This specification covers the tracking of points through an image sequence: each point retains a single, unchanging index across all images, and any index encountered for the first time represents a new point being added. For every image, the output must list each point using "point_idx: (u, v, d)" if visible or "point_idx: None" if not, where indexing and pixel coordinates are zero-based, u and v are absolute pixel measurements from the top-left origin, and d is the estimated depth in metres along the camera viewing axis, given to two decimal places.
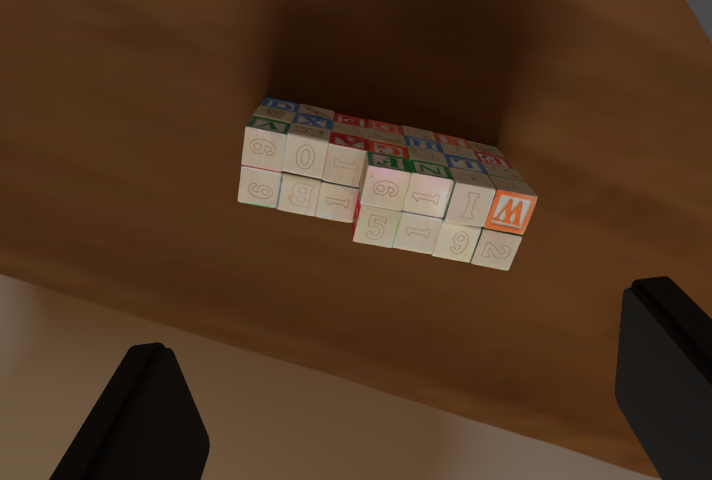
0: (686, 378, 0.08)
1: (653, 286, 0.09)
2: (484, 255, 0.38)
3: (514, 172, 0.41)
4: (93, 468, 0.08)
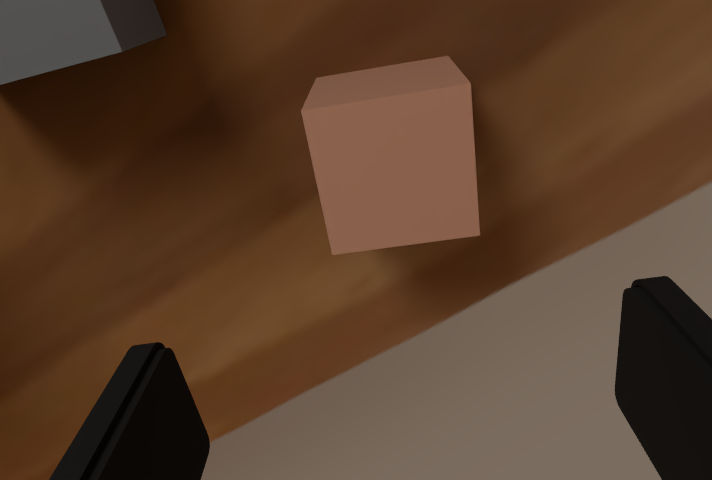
0: (686, 378, 0.08)
1: (653, 286, 0.09)
2: None
3: None
4: (93, 468, 0.08)
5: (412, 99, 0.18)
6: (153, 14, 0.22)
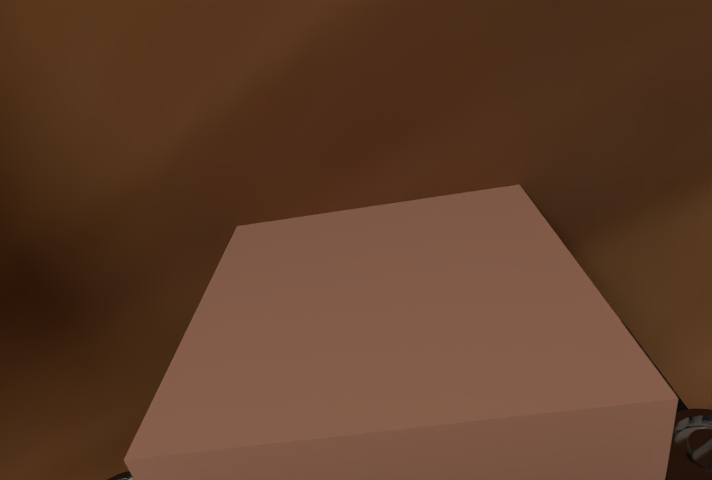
0: None
1: None
2: None
3: None
4: None
5: (477, 435, 0.06)
6: None
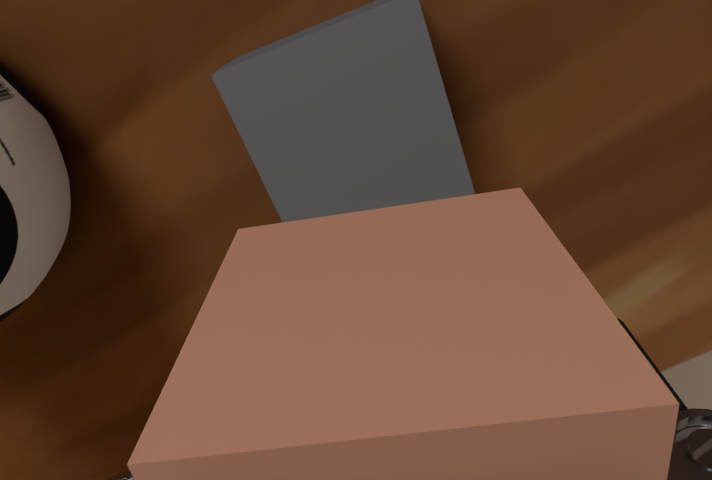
0: None
1: None
2: None
3: None
4: None
5: (479, 440, 0.06)
6: None
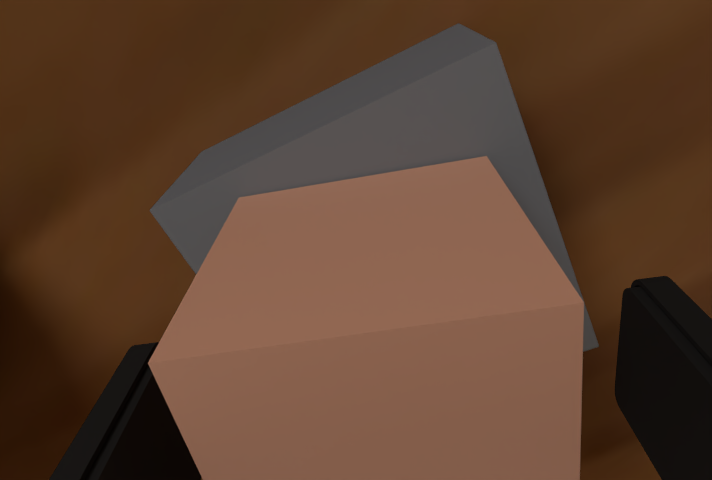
0: (686, 378, 0.08)
1: (653, 286, 0.09)
2: None
3: None
4: (93, 468, 0.08)
5: (428, 337, 0.07)
6: None
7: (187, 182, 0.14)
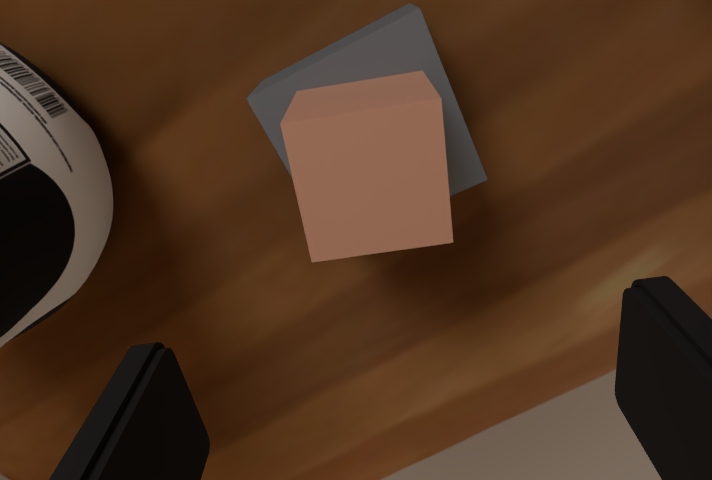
0: (686, 378, 0.08)
1: (653, 286, 0.09)
2: None
3: None
4: (93, 468, 0.08)
5: (385, 113, 0.19)
6: None
7: (263, 87, 0.26)
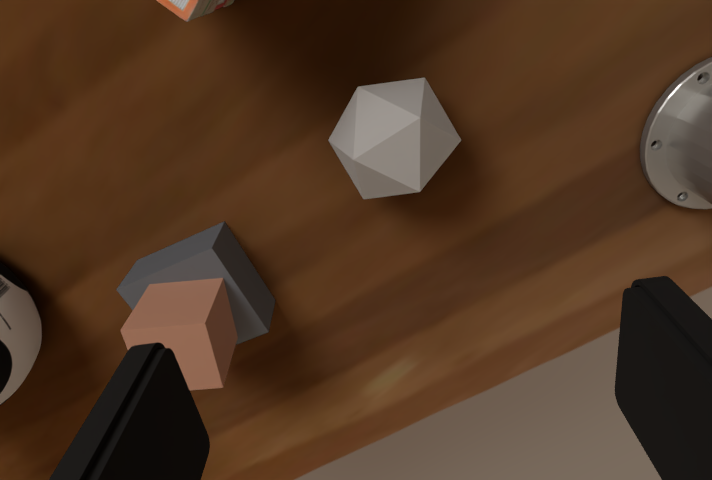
0: (686, 378, 0.08)
1: (653, 286, 0.09)
2: None
3: (212, 8, 0.30)
4: (93, 468, 0.08)
5: (176, 328, 0.36)
6: (269, 297, 0.47)
7: (128, 279, 0.43)
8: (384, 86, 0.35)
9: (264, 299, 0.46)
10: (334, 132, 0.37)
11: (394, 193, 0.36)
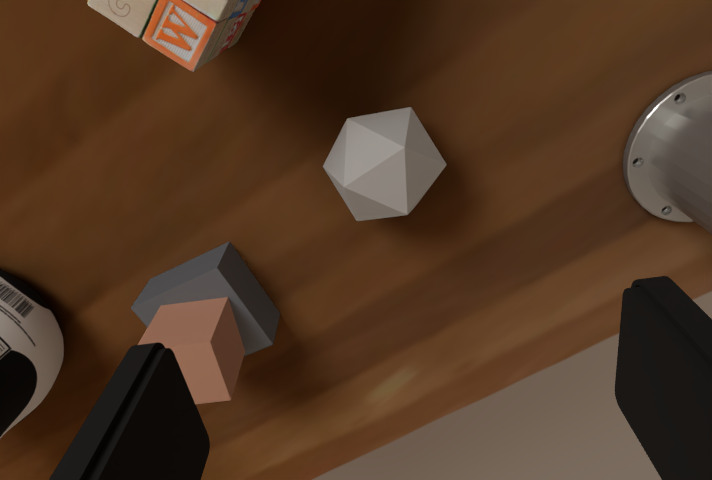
0: (686, 378, 0.08)
1: (653, 286, 0.09)
2: None
3: (216, 53, 0.33)
4: (93, 468, 0.08)
5: (184, 347, 0.39)
6: (274, 310, 0.50)
7: (142, 297, 0.46)
8: (372, 117, 0.37)
9: (268, 312, 0.49)
10: (327, 159, 0.40)
11: (384, 216, 0.39)
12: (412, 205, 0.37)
